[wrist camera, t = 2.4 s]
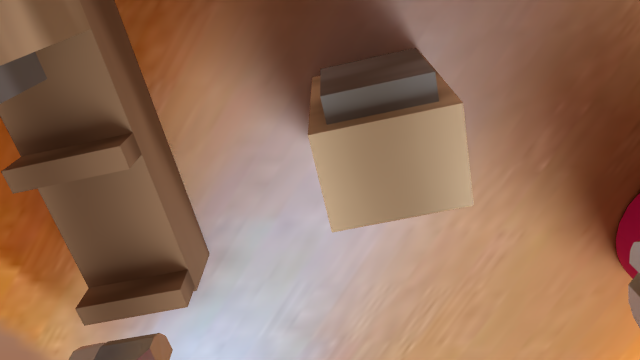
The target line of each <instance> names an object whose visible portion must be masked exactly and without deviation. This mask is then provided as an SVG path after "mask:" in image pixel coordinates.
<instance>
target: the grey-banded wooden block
mask: <svg viewBox="0 0 640 360" xmlns="http://www.w3.org/2000/svg"><path fill="white" fill-rule="evenodd" d="M308 137H309V141H310V145H311V149H312V154H313V158H314V162H315V166H316V170H317V174H318V178H319V182H320V186H321V190H322V194H323V198H324V202H325V206H326V210H327V214H328V218H329V222H330V226H331V230H332V232H337V231H342V230H347V229H353V228H358V227H363V226H369V225H374V224H379V223H384V222H390V221H395V220H400V219H406V218H411V217H416V216H422V215H427V214H432V213H438V212H443V211H448V210H453V209H459V208H464V207H469V206H474V202H473V193H472V183H471V174H470V164H469V155H468V145H467V136H466V126H465V117H464V107H463V102H462V101H461V100H460V99H459V98H458V96H457V95H456V94H455V93H454V92H453V90H452V89H451V88H450V87H449V86H448V85H447V83H446V82H445V81H444V80H443V79H442V77H441V76H440V75H439V74H438V73H437V71H436V70H435V69H434V68H433V67H432V65H431V64H430V63H429V62H428V61H427V59H426V58H425V57H424V56H423V55H422V53H419V51H418V50H417V49H416V48H414V49H409V50H405V51H400V52H396V53H391V54H387V55H382V56H378V57H373V58H369V59H364V60H360V61H355V62H350V63H346V64H341V65H337V66H332V67H328V68H323V69H321V70H320V76H315V77H312V85H311V99H310V114H309V128H308Z"/></svg>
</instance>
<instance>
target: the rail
mask: <svg viewBox="0 0 640 360" xmlns="http://www.w3.org/2000/svg"><path fill="white" fill-rule="evenodd" d="M0 116H1V118H2V120H3V122H4V124H5V126H6V128H7V130H8V132H9V134H10V136H11V138H12V140H13V142H14V143H15V145H16V147H17V149H18V151H19V153H20V155H21V157H20V158H19V159H18V160H16V161H15V162H13V163H12V164H11V165H9V166H8V167H7V168H5V169H4V170H3V171H1V172H2V174H3V176H4V178H5V179H6V181H7V183H8V185H9V187H10V189H11V191H12V192H13V193H18V192H23V191H28V190H32V189H37V188H38V190H39V192H40V194H41V196H42V198H43V200H44V202H45V204H46V206H47V208H48V210H49V212H50V213H51V215H52V217H53V219H54V221H55V223H56V225H57V227H58V229H59V231H60V233H61V235H62V237H63V239H64V241H65V243H66V245H67V247H68V248H69V250H70V252H71V254H72V256H73V258H74V260H75V262H76V264H77V266H78V268H79V270H80V272H81V274H82V276H83V278H84V280H85V282H86V283H87V285H88V287H89V289H88V290H87V292H86V293H85V295H84V296H83V298H82V299H81V301H80V302H79V304H78V305H77V307H76V308H75V309H76V311H77V313H78V315H79V317H80V318H81V320H82V322H83V324H84V326H85V325H90V324H96V323H101V322H107V321H113V320H118V319H124V318H129V317H135V316H140V315H146V314H151V313H157V312H163V311H168V310H174V309H179V308H185V307H188V304H189V302H190V299H191V296H192V293H193V291H197V288H198V285H199V282H200V280H201V277H202V274H203V271H204V268H205V265H206V262H207V260H208V257H209V251H208V249H207V246H206V243H205V241H204V238H203V235H202V233H201V230H200V227H199V225H198V222H197V220H196V217H195V214H194V212H193V209H192V206H191V204H190V201H189V198H188V196H187V193H186V190H185V188H184V185H183V182H182V180H181V177H180V174H179V172H178V169H177V166H176V164H175V161H174V158H173V156H172V153H171V150H170V148H169V145H168V142H167V140H166V137H165V134H164V132H163V129H162V126H161V124H160V121H159V118H158V116H157V113H156V110H155V108H154V105H153V102H152V100H151V97H150V94H149V92H148V89H147V86H146V84H145V81H144V78H143V76H142V73H141V70H140V68H139V65H138V62H137V60H136V57H135V55H134V52H133V49H132V47H131V44H130V41H129V39H128V36H127V33H126V31H125V28H124V25H123V23H122V20H121V17H120V15H119V12H118V9H117V7H116V4H115V1H114V0H0Z"/></svg>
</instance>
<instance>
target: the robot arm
mask: <svg viewBox="0 0 640 360" xmlns="http://www.w3.org/2000/svg"><path fill="white" fill-rule="evenodd" d="M629 263H630V264H631V265H632V266H633V267H634V268H635V269H636V270H637V271H638V273H637V275H636V276H635V277H634V278H633V280H632V281H631V282H630V284H629V304H630V307H631V311H632V314H633V317H634V319H635V321H636V322H637V324H638V326H639V328H640V241H637V242H634V243H633V245H632V247H631V250H630V261H629ZM171 353H172V348H171V346H170V344H169V341H168V339H167V337H166V336H165V335H163V334H160V333H157V334H151V335H145V336H139V337H133V338H127V339H121V340H115V341H109V342H107V343H99V344H94V345H88V346H83V347H80V348H78V349H77V350H75V351H73V353H72V355H71V356H70V358H69V360H170V356H171Z"/></svg>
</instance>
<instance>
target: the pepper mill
mask: <svg viewBox="0 0 640 360" xmlns="http://www.w3.org/2000/svg"><path fill="white" fill-rule="evenodd" d="M637 241H640V193H639V194H638V195H637V196H636V197H635V199H634V200H633V201H632V202H631V203H630V204H629V205H628V207H627V209H626V211H625V213H624V215H623V217H622V219H621V221H620V223H619V227H618V231H617V236H616V249H617V255H618V258H619V261H620V263H621V265H622V266H623V268H624V269H625V271H626V272H627V273H628V274H629V275H630V276H631V277H632V278H634V277H635V276H636V275H637V273H638V271H637V270H636V269H635V268H634V267H633V266H632V265H631V264H630V263H629V261H630V250H631V247H632V245H633V243H634V242H637Z"/></svg>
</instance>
